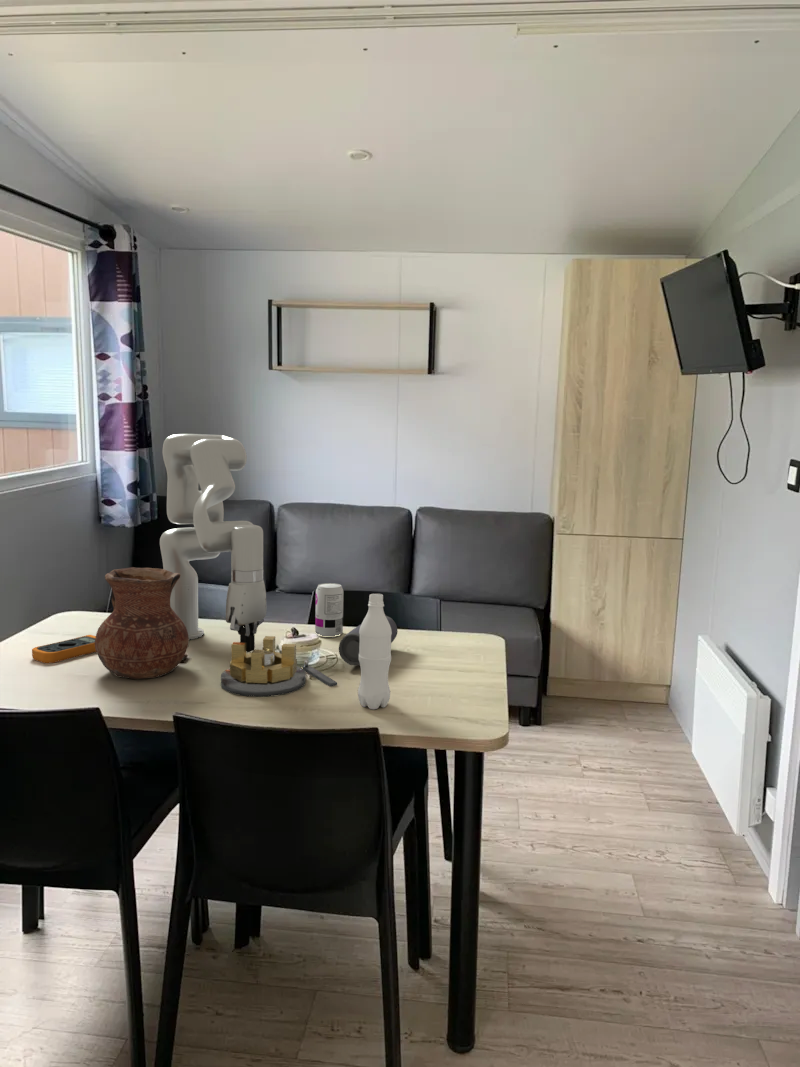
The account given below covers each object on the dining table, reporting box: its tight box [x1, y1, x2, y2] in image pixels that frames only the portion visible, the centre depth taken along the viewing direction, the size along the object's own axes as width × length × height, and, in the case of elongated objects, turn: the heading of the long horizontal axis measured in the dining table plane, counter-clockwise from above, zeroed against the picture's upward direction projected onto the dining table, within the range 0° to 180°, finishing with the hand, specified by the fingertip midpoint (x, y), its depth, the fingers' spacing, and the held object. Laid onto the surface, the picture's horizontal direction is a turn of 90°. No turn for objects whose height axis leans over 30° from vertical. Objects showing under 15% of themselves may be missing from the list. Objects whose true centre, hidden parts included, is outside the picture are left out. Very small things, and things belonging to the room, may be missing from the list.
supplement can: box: [314, 582, 344, 636], centre depth 227 cm, size 8×8×15 cm
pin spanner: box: [301, 659, 338, 688], centre depth 187 cm, size 16×2×3 cm, turn 32°
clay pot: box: [95, 566, 190, 680], centre depth 187 cm, size 22×21×25 cm
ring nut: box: [229, 635, 298, 683], centre depth 181 cm, size 15×15×7 cm
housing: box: [220, 651, 307, 698], centre depth 182 cm, size 20×20×7 cm
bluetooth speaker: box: [338, 615, 398, 666], centre depth 203 cm, size 23×9×10 cm, turn 161°
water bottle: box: [357, 593, 392, 710], centre depth 167 cm, size 7×7×25 cm
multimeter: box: [31, 634, 97, 664], centre depth 201 cm, size 9×18×3 cm, turn 147°
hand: (247, 650), depth 185 cm, fingers closed
